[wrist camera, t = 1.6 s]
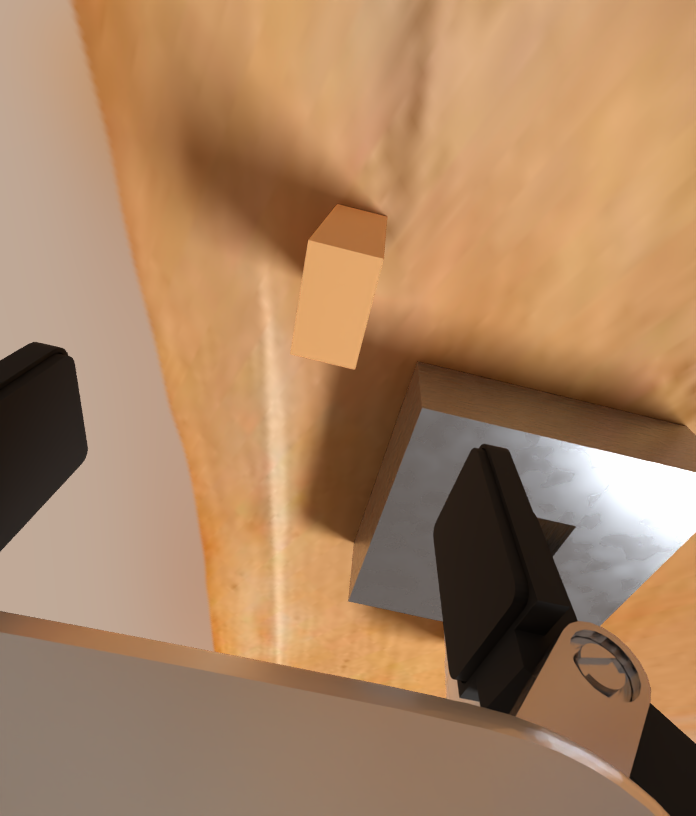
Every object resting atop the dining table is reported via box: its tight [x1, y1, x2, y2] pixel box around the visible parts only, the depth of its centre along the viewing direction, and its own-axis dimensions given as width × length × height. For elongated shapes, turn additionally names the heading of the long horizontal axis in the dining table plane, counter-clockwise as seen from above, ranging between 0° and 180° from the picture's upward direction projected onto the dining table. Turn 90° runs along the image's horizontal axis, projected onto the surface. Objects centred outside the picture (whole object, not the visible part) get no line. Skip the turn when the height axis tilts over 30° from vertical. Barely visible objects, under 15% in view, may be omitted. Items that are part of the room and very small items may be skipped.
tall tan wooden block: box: [290, 204, 387, 370], centre depth 22 cm, size 3×5×10 cm, turn 168°
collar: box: [348, 361, 696, 626], centre depth 33 cm, size 20×20×6 cm
